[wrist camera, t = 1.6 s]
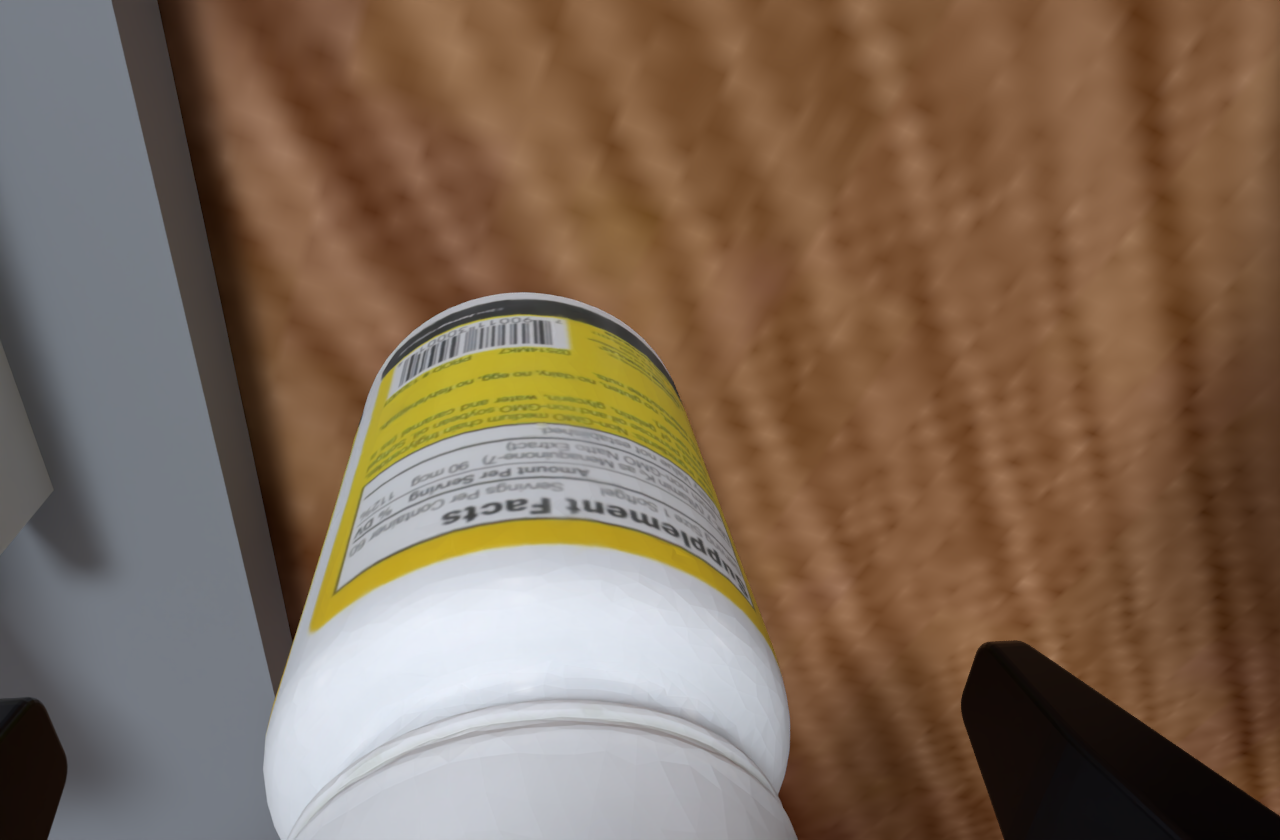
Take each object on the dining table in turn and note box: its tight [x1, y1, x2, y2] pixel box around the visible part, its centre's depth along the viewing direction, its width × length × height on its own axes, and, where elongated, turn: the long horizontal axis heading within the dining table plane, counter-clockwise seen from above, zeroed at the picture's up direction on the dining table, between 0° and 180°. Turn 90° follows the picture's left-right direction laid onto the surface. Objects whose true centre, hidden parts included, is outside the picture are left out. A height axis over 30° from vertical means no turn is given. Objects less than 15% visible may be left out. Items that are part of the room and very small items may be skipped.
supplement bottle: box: [263, 292, 798, 840], centre depth 9 cm, size 5×5×8 cm
